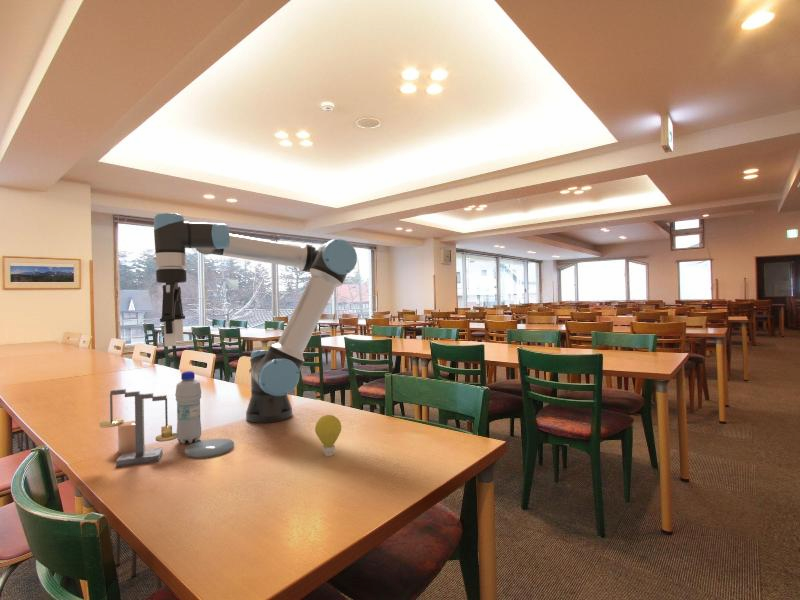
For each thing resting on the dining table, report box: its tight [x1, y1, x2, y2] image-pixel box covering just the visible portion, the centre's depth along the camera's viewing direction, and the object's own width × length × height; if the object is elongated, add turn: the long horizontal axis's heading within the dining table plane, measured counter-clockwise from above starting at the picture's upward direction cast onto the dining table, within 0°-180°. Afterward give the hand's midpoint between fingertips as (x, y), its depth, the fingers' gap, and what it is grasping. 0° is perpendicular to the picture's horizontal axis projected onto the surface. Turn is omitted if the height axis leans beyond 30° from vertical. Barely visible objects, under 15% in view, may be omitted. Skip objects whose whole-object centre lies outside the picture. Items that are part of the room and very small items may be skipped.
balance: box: [98, 388, 178, 468], centre depth 106 cm, size 17×6×18 cm, turn 111°
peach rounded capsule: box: [117, 420, 136, 454], centre depth 114 cm, size 6×6×7 cm
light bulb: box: [314, 414, 342, 457], centre depth 108 cm, size 7×7×10 cm
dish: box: [184, 438, 235, 459], centre depth 113 cm, size 12×12×1 cm
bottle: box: [174, 370, 202, 445], centre depth 120 cm, size 7×7×20 cm
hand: (174, 343), depth 119 cm, fingers open, 13 cm apart
